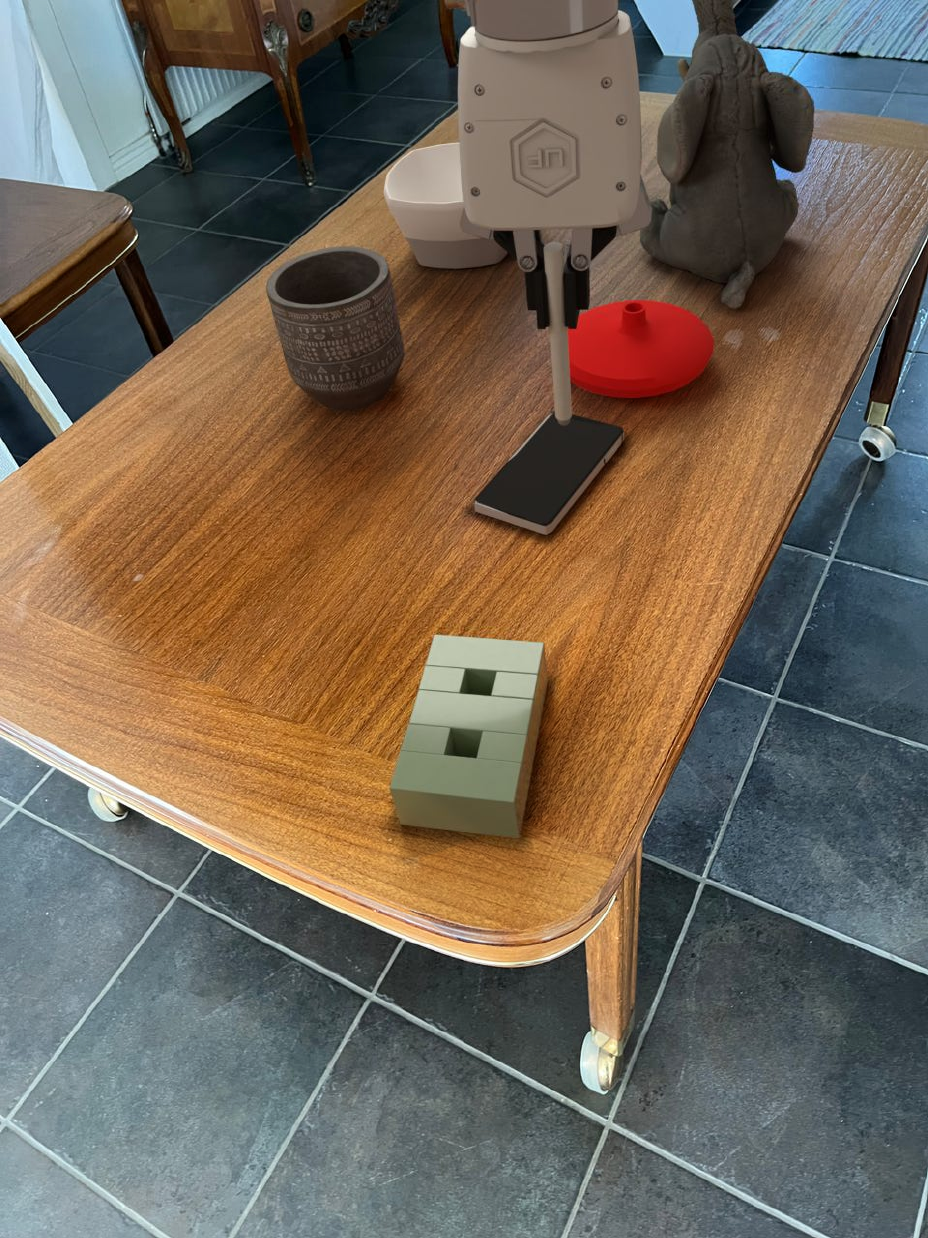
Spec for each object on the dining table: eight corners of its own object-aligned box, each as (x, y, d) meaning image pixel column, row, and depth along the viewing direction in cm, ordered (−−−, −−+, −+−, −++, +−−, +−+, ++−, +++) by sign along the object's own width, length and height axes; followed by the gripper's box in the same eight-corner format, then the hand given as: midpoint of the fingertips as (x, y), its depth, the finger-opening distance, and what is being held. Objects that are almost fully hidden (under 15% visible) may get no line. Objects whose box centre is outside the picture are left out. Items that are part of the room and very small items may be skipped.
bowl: (382, 284, 117) (367, 207, 110) (411, 216, 129) (399, 143, 122) (527, 279, 113) (521, 200, 107) (543, 210, 125) (539, 135, 118)
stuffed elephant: (692, 200, 122) (706, -52, 103) (839, 244, 111) (887, -31, 91) (590, 262, 115) (584, 2, 95) (737, 316, 103) (765, 33, 83)
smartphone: (470, 501, 86) (552, 408, 94) (471, 511, 87) (553, 418, 94) (549, 527, 82) (627, 428, 90) (550, 537, 83) (627, 438, 91)
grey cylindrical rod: (573, 418, 70) (564, 240, 59) (571, 429, 69) (562, 251, 58) (556, 418, 70) (544, 241, 59) (554, 429, 69) (542, 252, 58)
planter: (393, 345, 107) (371, 234, 98) (424, 402, 99) (404, 286, 90) (287, 375, 105) (255, 264, 96) (309, 435, 97) (277, 321, 88)
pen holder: (442, 672, 74) (434, 633, 71) (548, 681, 72) (544, 642, 69) (400, 824, 65) (388, 788, 62) (519, 839, 64) (514, 802, 60)
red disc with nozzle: (604, 316, 106) (604, 255, 101) (738, 349, 99) (745, 285, 94) (526, 390, 98) (521, 328, 93) (665, 433, 91) (669, 368, 86)
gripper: (383, 31, 49) (433, 350, 62) (697, 8, 46) (678, 349, 59) (414, -14, 54) (454, 290, 67) (699, -38, 51) (681, 287, 64)
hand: (559, 316), depth 63 cm, fingers closed on grey cylindrical rod, 1 cm apart
